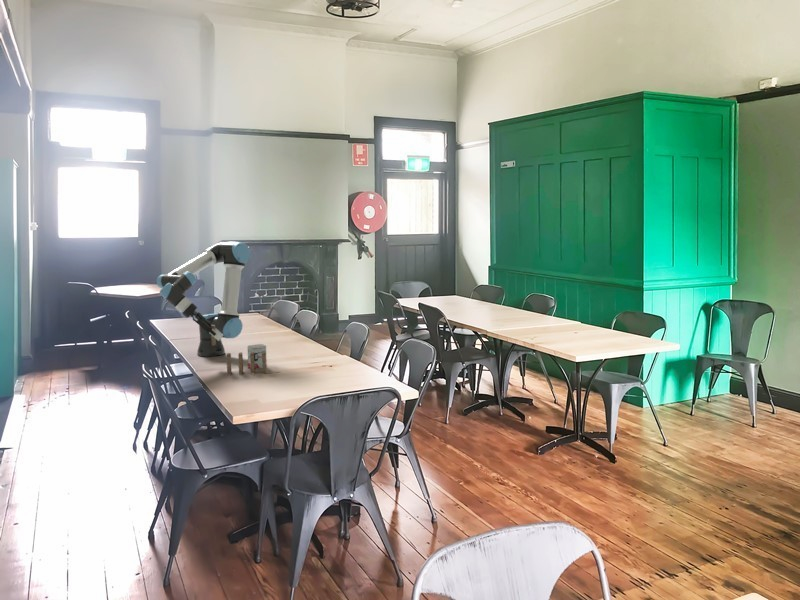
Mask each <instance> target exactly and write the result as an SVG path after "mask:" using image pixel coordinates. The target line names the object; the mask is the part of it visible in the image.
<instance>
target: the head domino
mask: <svg viewBox="0 0 800 600" xmlns="http://www.w3.org/2000/svg"><path fill="white" fill-rule="evenodd" d="M211 328H212V329H214V330H215V325H212V326H211ZM211 340H212V346H213V345H215V344H216V338H215V337H213V336H212V335H211Z"/></svg>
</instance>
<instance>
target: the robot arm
mask: <svg viewBox="0 0 800 600" xmlns="http://www.w3.org/2000/svg"><path fill="white" fill-rule="evenodd" d="M250 259H251V250H250V248H249V247H248V245H247V244H246V243H244V242H242V241H220V242H217V243H215V244H214V245H212V246H210V247H208V248H206V249H204V250H203V252H202V254H199V255H198V256H196V257H194V258H193V259H191V260H189V261H188V262H186V263H184V264H182V265H181V266H179V267H178V268H175V269H173V270H172V271H170V272H168V273H166V274H164V273H163V274H160V275H159V276H158V277H157V279H156V285H157V286H158V287H159V288H160V291H159V294H160V296H161V297H162V298H163V299H164V300H166V301H167V302H169V304H170V305H172V307H174V308H175V310H176V311H178V312H179V313H182V316H184V317H185V318H186V319H187V318H190V317H192V321H194V322H195V323H196V324H197V325H198V328H199V330H198V331H199V345H198V346H197V347H198V348H197V353H196V354H197V356H199V357H215V356H216V357H217V355H218V356H223V355H225V353H226V351H225V347H224V344H223V342H222V339H223V338H224V339H235V338H237V337H238V336H239V335H240V334H241V333H242V330H243V326H244V325H243V322H242V320H241V319H240V314H239V312H238V307H239V306H238V304H239V295H240V286H241V277H242V270H243V269H244V268H245V265H246V264H247V263H248V262H249V260H250ZM219 263H223V266H224V267H225V272H224V273H225V274H224V283H223V291H222V301H221V307H220V309H221V310H220V311H219V312H217V313H208V314H207V313H206V314H202V313H201V312H197V311H196V310H197V309H198V307H197V305H196V304H194V303H193V302H192V301H191V300H190V299H189V298H188V297H186V296H185V294H186V292H187V291H188V290H190V289H191V287H193V285H194V284H196V282H197V278H196V276H195V275H196V274H198V273H199V272H201V271H203V270H205V269H206V268H207V267H209V266H215V265H216V264H219ZM212 325H215V330H214V329H212V328H211V326H212ZM211 335H212V336H213V337H215V338H216V344H215V345H213V346H212V340H211Z"/></svg>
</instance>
